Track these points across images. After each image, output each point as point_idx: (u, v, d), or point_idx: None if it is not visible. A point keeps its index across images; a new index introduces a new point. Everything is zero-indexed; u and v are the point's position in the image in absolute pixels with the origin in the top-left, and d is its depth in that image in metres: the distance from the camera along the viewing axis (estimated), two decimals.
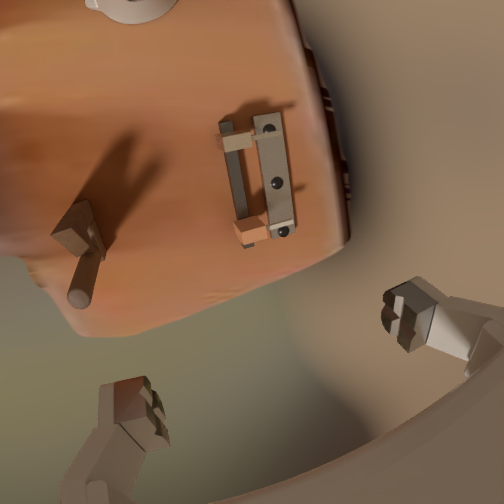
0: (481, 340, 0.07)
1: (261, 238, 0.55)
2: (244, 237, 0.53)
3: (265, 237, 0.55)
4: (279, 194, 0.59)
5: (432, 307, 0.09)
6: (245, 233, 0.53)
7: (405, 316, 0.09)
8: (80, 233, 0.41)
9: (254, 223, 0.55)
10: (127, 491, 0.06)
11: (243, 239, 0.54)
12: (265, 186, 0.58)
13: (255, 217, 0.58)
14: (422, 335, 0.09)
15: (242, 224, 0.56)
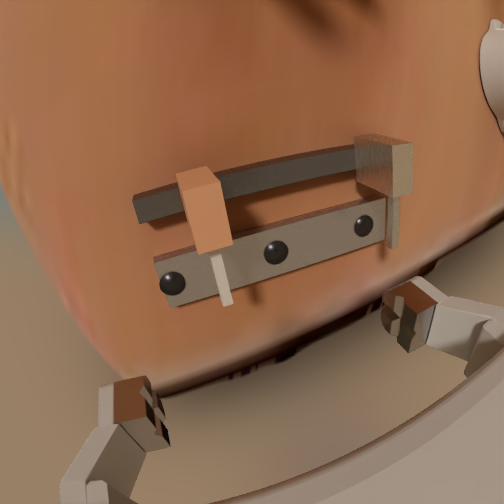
0: (481, 340, 0.07)
1: (198, 238, 0.20)
2: (205, 192, 0.19)
3: (200, 248, 0.20)
4: (253, 261, 0.30)
5: (432, 307, 0.09)
6: (216, 193, 0.19)
7: (405, 316, 0.09)
8: None
9: None
10: (127, 491, 0.06)
11: (199, 189, 0.19)
12: (271, 230, 0.29)
13: None
14: (422, 335, 0.09)
15: None
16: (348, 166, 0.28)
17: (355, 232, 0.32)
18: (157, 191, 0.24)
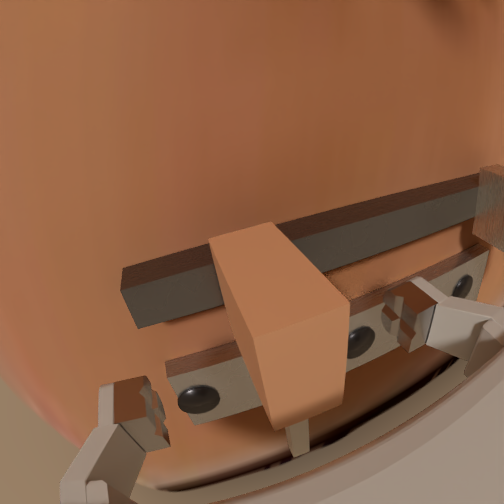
0: (481, 340, 0.07)
1: (279, 411, 0.08)
2: (311, 331, 0.07)
3: (280, 423, 0.09)
4: None
5: (432, 307, 0.09)
6: (335, 330, 0.07)
7: (405, 316, 0.09)
8: None
9: None
10: (127, 491, 0.06)
11: (298, 328, 0.07)
12: (358, 315, 0.17)
13: None
14: (422, 335, 0.09)
15: None
16: (468, 213, 0.16)
17: None
18: (169, 267, 0.12)
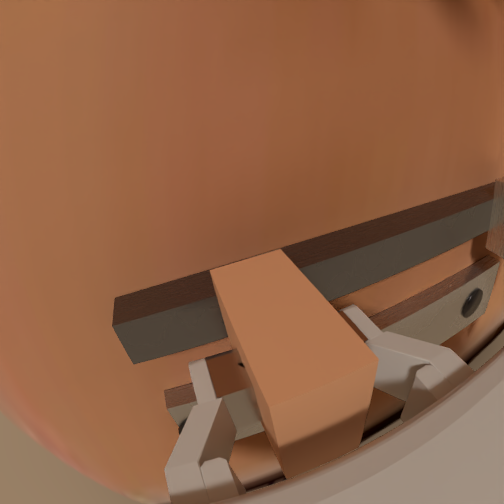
0: (414, 388, 0.06)
1: (293, 463, 0.07)
2: (334, 392, 0.06)
3: (293, 472, 0.07)
4: None
5: None
6: (360, 386, 0.06)
7: None
8: None
9: None
10: None
11: (320, 391, 0.06)
12: None
13: None
14: None
15: None
16: (483, 227, 0.14)
17: (462, 313, 0.19)
18: (165, 299, 0.11)
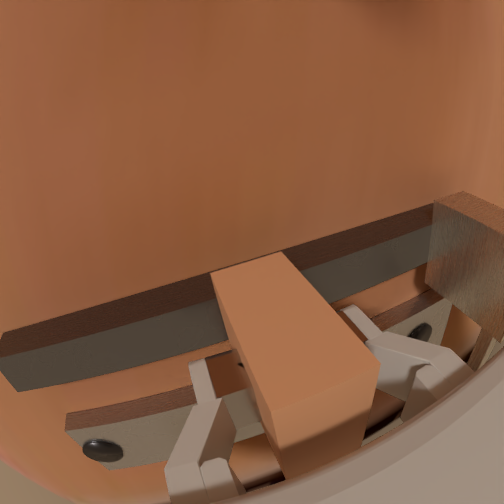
0: (414, 388, 0.06)
1: (294, 466, 0.07)
2: (336, 396, 0.06)
3: (294, 475, 0.07)
4: None
5: None
6: (362, 390, 0.06)
7: None
8: None
9: None
10: None
11: (322, 396, 0.06)
12: None
13: None
14: None
15: None
16: (417, 260, 0.13)
17: None
18: (30, 340, 0.10)
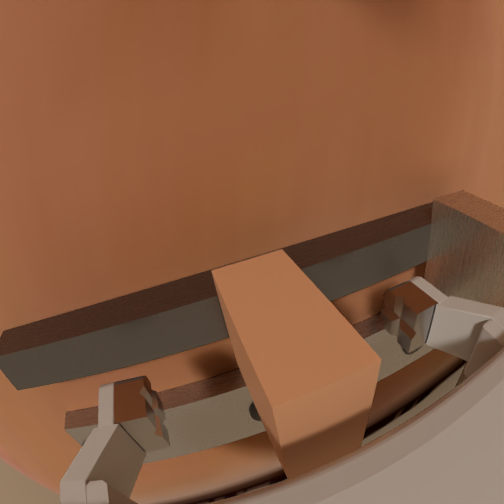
0: (481, 340, 0.07)
1: (295, 463, 0.07)
2: (337, 392, 0.06)
3: (295, 472, 0.07)
4: (230, 421, 0.15)
5: (432, 307, 0.09)
6: (362, 386, 0.06)
7: (405, 316, 0.09)
8: None
9: None
10: (127, 491, 0.06)
11: (323, 391, 0.06)
12: None
13: None
14: (422, 335, 0.09)
15: None
16: (416, 258, 0.13)
17: (403, 350, 0.18)
18: (30, 338, 0.10)
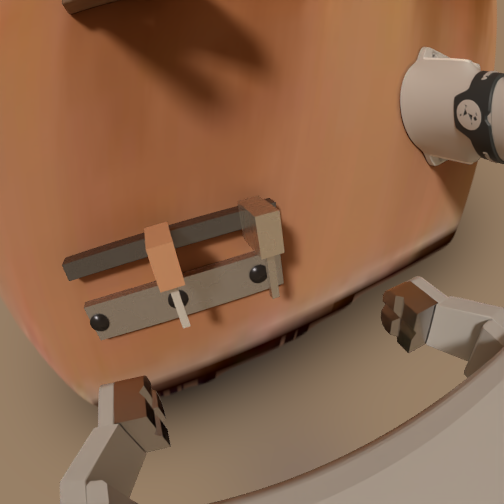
0: (481, 340, 0.07)
1: (159, 281, 0.27)
2: (162, 249, 0.26)
3: (161, 288, 0.28)
4: (159, 306, 0.35)
5: (432, 307, 0.09)
6: (170, 250, 0.26)
7: (405, 316, 0.09)
8: None
9: None
10: (127, 491, 0.06)
11: (158, 248, 0.26)
12: None
13: None
14: (422, 335, 0.09)
15: None
16: (234, 227, 0.34)
17: (251, 279, 0.38)
18: (79, 256, 0.30)
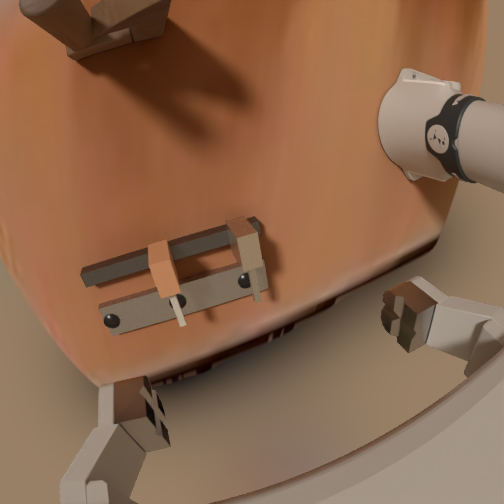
0: (481, 340, 0.07)
1: (160, 290, 0.34)
2: (161, 265, 0.33)
3: (162, 295, 0.34)
4: (162, 307, 0.42)
5: (432, 307, 0.09)
6: (168, 265, 0.33)
7: (405, 316, 0.09)
8: (143, 13, 0.19)
9: (176, 273, 0.36)
10: (127, 491, 0.06)
11: (158, 264, 0.33)
12: None
13: (176, 271, 0.39)
14: (422, 335, 0.09)
15: (170, 255, 0.36)
16: (223, 243, 0.40)
17: (239, 285, 0.44)
18: (94, 267, 0.37)
